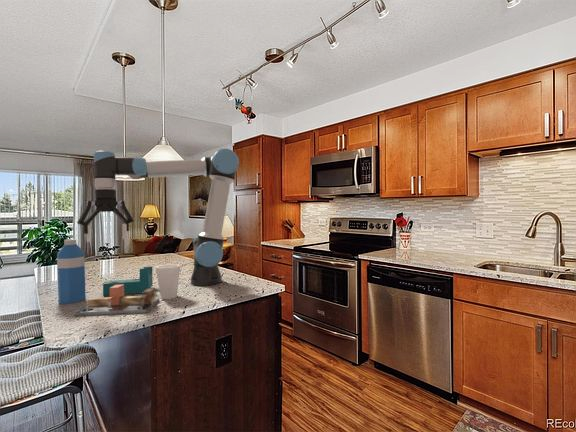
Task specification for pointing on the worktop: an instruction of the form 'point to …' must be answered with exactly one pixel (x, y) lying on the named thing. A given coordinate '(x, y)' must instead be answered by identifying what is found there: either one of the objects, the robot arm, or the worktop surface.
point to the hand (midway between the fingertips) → (107, 240)
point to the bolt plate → (115, 309)
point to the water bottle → (71, 273)
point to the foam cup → (168, 280)
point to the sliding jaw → (115, 295)
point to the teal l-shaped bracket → (132, 283)
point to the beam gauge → (126, 299)
